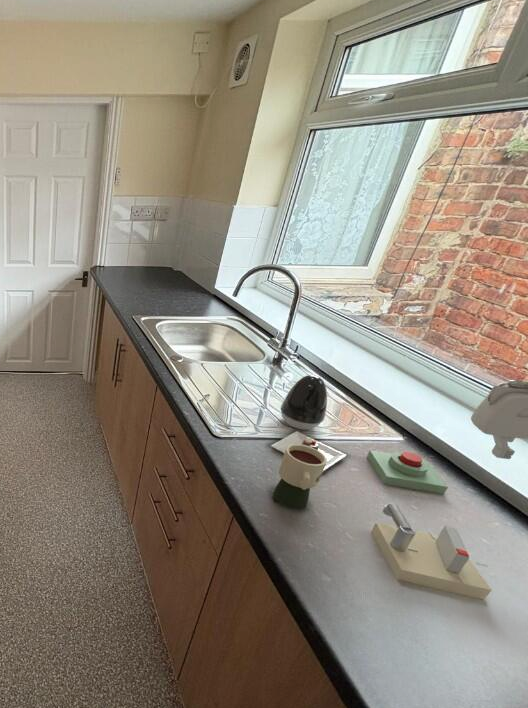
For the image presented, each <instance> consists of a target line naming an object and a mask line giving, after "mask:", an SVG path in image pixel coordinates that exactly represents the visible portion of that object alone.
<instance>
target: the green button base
mask: <svg viewBox="0 0 528 708" xmlns="http://www.w3.org/2000/svg"><path fill="white" fill-rule="evenodd" d="M402 453H403V452H401V451H396V452H393V453H390V452H384V451H378V450H372V449H370V450H369V451H368V453H367V455H366V458H367V460H368V461H369V463H370V465H371V466H372V468H373V470H374V471H375V473H376V474H377V477H378V478H379V479H380V481H381V482H382V484H384V485H389V486H394V487H399V488H405V489H409V490H410V489H411V490H415V491H416V490H417V491H423V492H428V493H434V494H439V495H445V494H446V491H447V490H448V488H449V486H448V485H447V484H446V482H445V481H444V480H443V479H442V477H440V475H439V474H438V472H436V470H435V469H434V468H433V467H432V466H431V464H430V463H429V461H428V460H427V459H426V458H422V462H421V464H420V466H419V467H411V466H408V465H406V464H404V463H402V462H401V461H399V458H400V456H401V454H402Z"/></svg>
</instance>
